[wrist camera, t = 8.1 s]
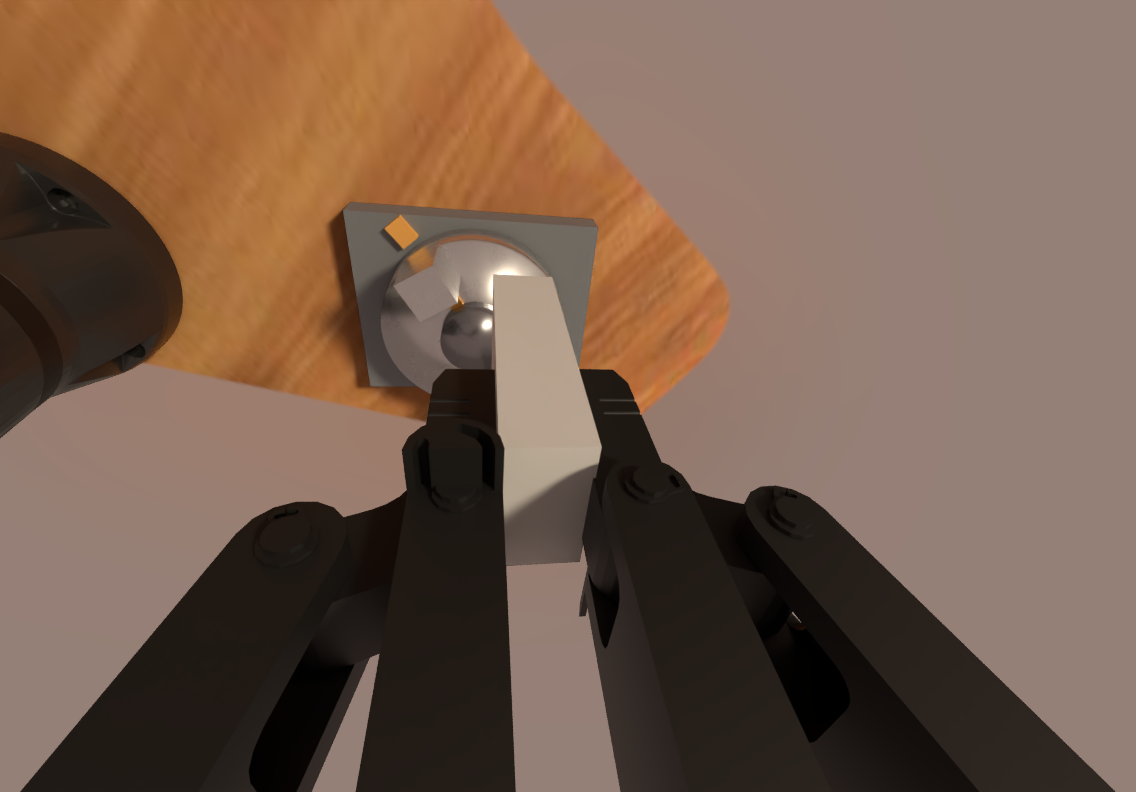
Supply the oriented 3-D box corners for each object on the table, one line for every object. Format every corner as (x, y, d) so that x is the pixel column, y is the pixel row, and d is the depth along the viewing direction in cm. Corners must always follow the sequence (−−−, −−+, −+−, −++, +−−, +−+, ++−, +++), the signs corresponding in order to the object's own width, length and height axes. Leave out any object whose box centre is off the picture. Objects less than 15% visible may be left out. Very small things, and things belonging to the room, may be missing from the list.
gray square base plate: (375, 372, 38) (368, 390, 36) (350, 201, 31) (340, 212, 29) (572, 374, 41) (577, 392, 39) (592, 219, 34) (600, 230, 32)
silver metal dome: (505, 406, 39) (508, 463, 34) (359, 339, 34) (335, 394, 29) (592, 288, 34) (613, 333, 29) (437, 189, 29) (426, 221, 24)
